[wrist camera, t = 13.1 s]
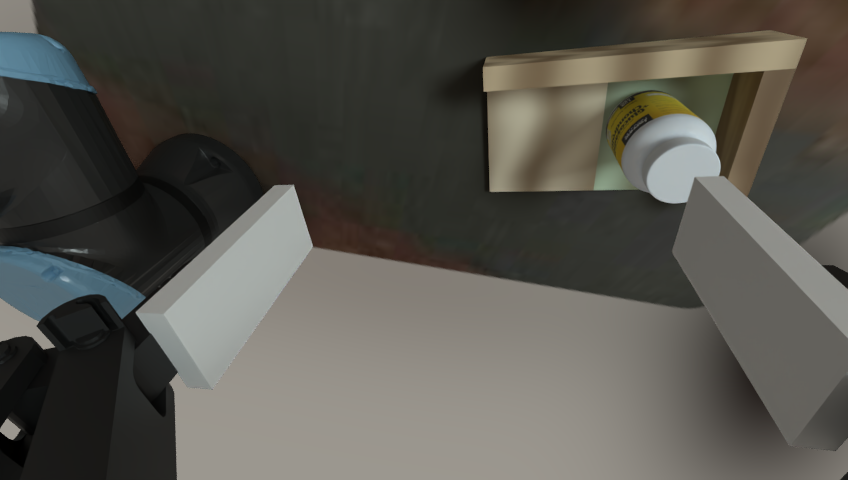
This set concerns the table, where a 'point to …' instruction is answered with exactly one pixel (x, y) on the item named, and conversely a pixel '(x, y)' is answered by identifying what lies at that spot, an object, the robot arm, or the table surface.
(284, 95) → the table surface
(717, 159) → the pill bottle
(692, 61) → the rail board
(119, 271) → the robot arm
